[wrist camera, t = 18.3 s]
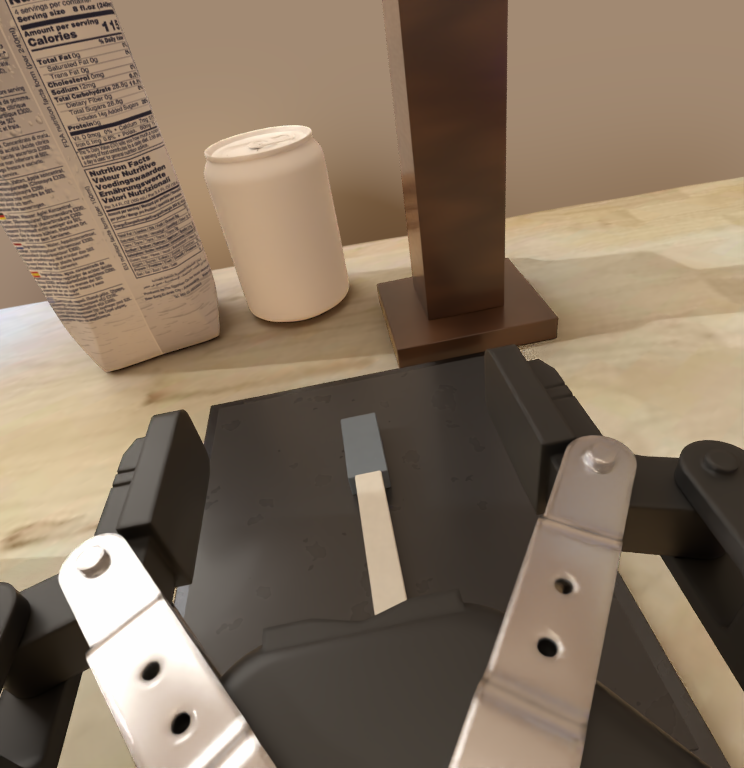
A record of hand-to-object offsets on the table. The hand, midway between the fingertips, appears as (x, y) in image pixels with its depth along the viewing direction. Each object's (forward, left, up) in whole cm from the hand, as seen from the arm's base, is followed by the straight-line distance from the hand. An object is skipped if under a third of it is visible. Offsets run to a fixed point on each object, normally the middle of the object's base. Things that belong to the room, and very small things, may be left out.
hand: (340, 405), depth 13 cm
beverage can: (-3, +27, -11) cm, 29 cm away
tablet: (0, +4, -10) cm, 11 cm away
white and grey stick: (0, +1, -9) cm, 10 cm away
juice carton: (-14, +26, -11) cm, 31 cm away
